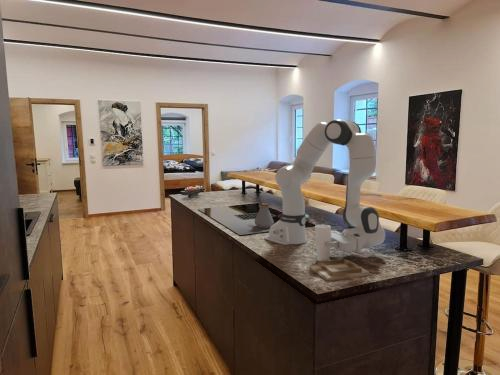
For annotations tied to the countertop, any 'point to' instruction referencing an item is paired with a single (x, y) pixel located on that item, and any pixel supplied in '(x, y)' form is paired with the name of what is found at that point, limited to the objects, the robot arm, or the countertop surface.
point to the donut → (306, 218)
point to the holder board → (338, 269)
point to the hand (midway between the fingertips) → (321, 241)
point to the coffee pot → (264, 216)
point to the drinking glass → (322, 241)
